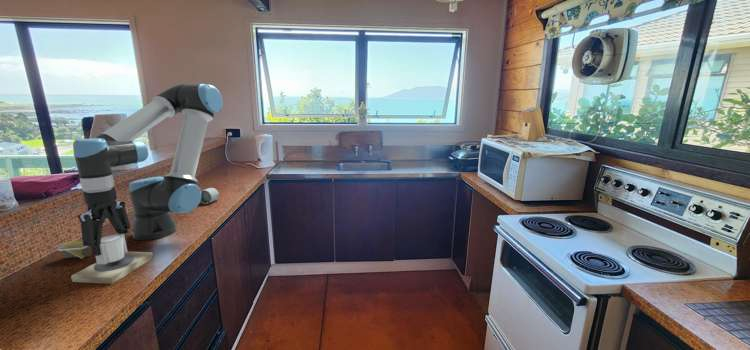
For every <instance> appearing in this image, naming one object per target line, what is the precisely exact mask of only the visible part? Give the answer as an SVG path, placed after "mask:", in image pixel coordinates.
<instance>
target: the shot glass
mask: <svg viewBox="0 0 750 350" xmlns="http://www.w3.org/2000/svg"><path fill="white" fill-rule="evenodd" d="M95 242H96V241H95ZM100 244H104V249H105V254H106V259H107V263H109V262H115V261H118V260H120V259H122V258H123V257H124V243H123V235H120V234H118V233H115V234H109V235H106V236H101V243H100Z"/></svg>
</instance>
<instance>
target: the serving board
mask: <svg viewBox="0 0 750 350" xmlns="http://www.w3.org/2000/svg"><path fill="white" fill-rule="evenodd" d="M127 251H128V250H127ZM153 258H154V254H153V252H151V251H150V252H149V251H128V252H126V253H124V257H123V258H122V259H120V260H118V261H115V262H109V263H107V264H97V261H96V262H94V263H93V264H91V265H88V266H87V267H85V268H83V269H82V270H80V271H77V272H75V273H74V274H72V275H71V277H70V278H71V282H72V283H86V284H87V283H89V284H91V283H92V284H110V285H112V284H115V283H117V281H120V280H121V279H122V278H124V277H126V276H127V275H129V274H130V273H132V272H133V271H135V270H137V269H138V268H140V267H142V266H143V265H145V264H146V263H147V262H149V261H150V260H152V259H153Z"/></svg>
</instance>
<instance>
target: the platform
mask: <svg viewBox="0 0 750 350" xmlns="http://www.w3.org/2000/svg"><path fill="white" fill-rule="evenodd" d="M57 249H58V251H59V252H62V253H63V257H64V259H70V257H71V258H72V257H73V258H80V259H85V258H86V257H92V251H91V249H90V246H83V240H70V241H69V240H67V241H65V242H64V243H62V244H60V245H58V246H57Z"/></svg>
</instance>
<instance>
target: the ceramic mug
mask: <svg viewBox="0 0 750 350" xmlns="http://www.w3.org/2000/svg"><path fill="white" fill-rule="evenodd" d="M200 192H201V200H200V202H199V203H201V204H202V205H203V204H204V205H208V204H210V203H213V202H214V201H216V200H218V198H219V196H220V195H219V190H217V189H216V188H214V187H209V188H206V189H202V190H200ZM207 202H208V203H207Z"/></svg>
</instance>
